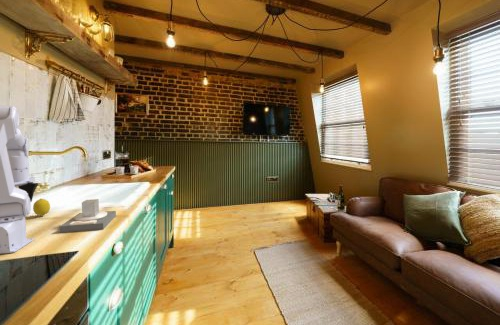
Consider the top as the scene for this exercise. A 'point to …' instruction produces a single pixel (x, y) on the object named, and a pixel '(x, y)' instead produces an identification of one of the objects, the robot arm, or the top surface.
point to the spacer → (90, 208)
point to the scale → (88, 222)
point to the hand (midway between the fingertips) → (21, 204)
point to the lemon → (41, 207)
